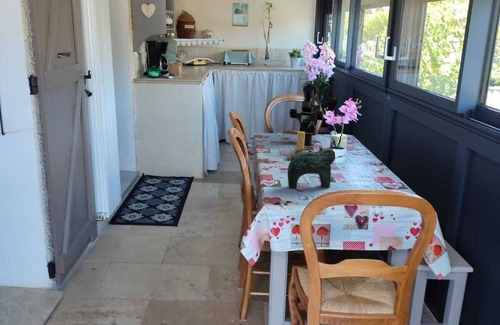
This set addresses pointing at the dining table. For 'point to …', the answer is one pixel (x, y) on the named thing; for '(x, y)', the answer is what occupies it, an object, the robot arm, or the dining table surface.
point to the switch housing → (293, 153)
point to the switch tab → (300, 141)
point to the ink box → (337, 138)
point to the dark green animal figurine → (311, 165)
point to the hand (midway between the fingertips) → (304, 126)
